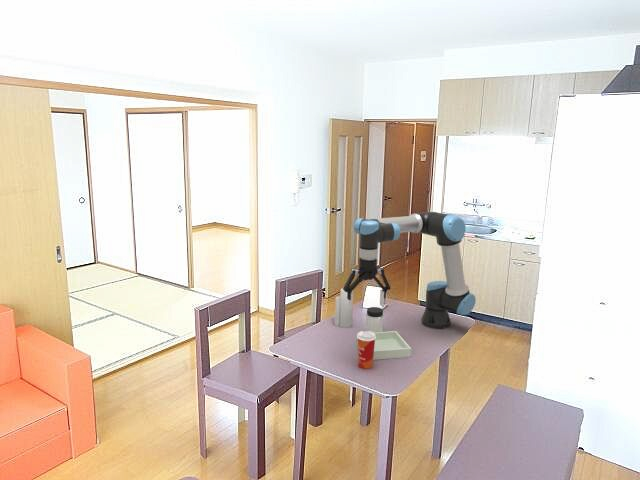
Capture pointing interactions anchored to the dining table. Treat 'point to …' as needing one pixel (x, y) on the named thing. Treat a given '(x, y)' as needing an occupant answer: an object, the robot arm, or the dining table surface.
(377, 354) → the bin
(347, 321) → the candle
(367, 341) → the coffee cup
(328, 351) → the dining table surface
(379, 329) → the jar
